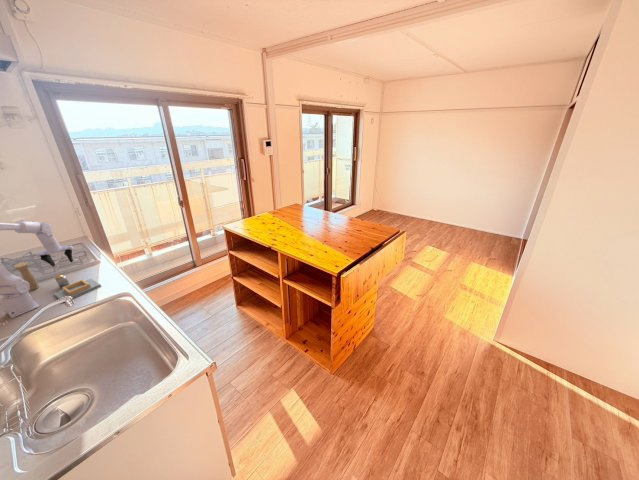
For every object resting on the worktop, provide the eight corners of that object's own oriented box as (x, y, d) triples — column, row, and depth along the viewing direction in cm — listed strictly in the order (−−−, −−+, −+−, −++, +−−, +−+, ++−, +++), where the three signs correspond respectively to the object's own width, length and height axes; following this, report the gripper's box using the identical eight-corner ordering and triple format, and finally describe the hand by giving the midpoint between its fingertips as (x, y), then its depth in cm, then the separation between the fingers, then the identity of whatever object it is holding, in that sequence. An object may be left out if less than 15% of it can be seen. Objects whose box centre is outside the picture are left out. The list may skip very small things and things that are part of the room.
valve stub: (61, 289, 136) (56, 278, 134) (58, 286, 138) (53, 276, 135) (71, 285, 139) (65, 275, 137) (68, 283, 141) (63, 273, 138)
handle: (30, 292, 134) (15, 268, 127) (27, 288, 137) (13, 264, 131) (42, 288, 137) (28, 264, 131) (39, 284, 141) (26, 261, 134)
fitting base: (63, 302, 126) (60, 297, 124) (54, 295, 131) (51, 290, 130) (101, 286, 138) (98, 281, 137) (91, 280, 144) (89, 275, 142)
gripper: (69, 236, 141) (80, 256, 147) (33, 243, 134) (47, 264, 141) (66, 241, 135) (78, 262, 142) (29, 249, 129) (44, 270, 136)
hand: (63, 263), depth 141 cm, fingers open, 7 cm apart
